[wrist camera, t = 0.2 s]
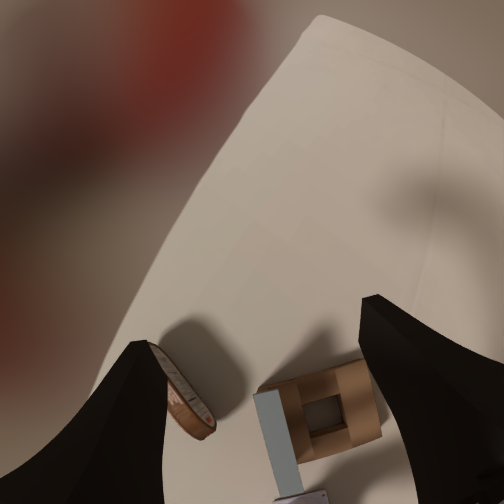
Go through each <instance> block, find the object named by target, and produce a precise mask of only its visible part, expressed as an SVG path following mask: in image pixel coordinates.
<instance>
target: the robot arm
mask: <svg viewBox="0 0 504 504" xmlns="http://www.w3.org/2000/svg"><path fill="white" fill-rule="evenodd" d="M358 342H359V345H360V348H361V350H362V353H363V356H364V358H365V361H366V363H367V366H368V368H369V370H370V371H371V373H372V375H373V377H374V379H375V381H376V383H377V385H378V387H379V388H380V390H381V392H382V394H383V396H384V398H385V400H386V402H387V404H388V406H389V407H390V409H391V411H392V413H393V415H394V418H395V420H396V422H397V425H398V427H399V430H400V433H401V436H402V439H403V442H404V445H405V448H406V451H407V454H408V458H409V461H410V465H411V469H412V473H413V477H414V481H415V486H416V491H417V497H418V503H419V504H504V364H503V363H500V362H497V361H494V360H492V359H489V358H487V357H484V356H482V355H480V354H478V353H475V352H473V351H471V350H469V349H467V348H465V347H463V346H461V345H459V344H457V343H455V342H453V341H452V340H450V339H448V338H446V337H445V336H443V335H441V334H439V333H438V332H436V331H434V330H433V329H431V328H430V327H428V326H426V325H425V324H423V323H422V322H420V321H419V320H417V319H416V318H414V317H413V316H411V315H409V314H408V313H407V312H405V311H404V310H402V309H401V308H399V307H398V306H396V305H395V304H393V303H392V302H390V301H389V300H387V299H385V298H384V297H382V296H381V295H379V294H376V295H373V296H369V297H365V298H362V307H361V319H360V329H359V339H358ZM167 407H168V378H167V376H166V374H165V372H164V371H163V369H162V367H161V365H160V364H159V362H158V360H157V358H156V356H155V355H154V353H153V351H152V349H151V347H150V345H149V344H148V342H147V340H140V341H131V342H130V343H129V344H128V346H127V347H126V348H125V349H124V351H123V352H122V354H121V355H120V356H119V358H118V359H117V361H116V362H115V363H114V365H113V366H112V368H111V369H110V370H109V372H108V373H107V375H106V376H105V377H104V379H103V380H102V382H101V383H100V384H99V386H98V387H97V389H96V390H95V391H94V392H93V394H92V395H91V396H90V398H89V399H88V400H87V401H86V403H85V404H84V405H83V407H82V408H81V409H80V410H79V412H78V413H77V414H76V415H75V416H74V418H73V419H72V420H71V421H70V422H69V423H68V424H67V426H66V427H64V429H63V430H62V431H61V432H60V433H59V434H58V435H57V436H56V437H55V438H54V439H53V440H51V441H50V442H49V443H48V444H47V445H46V446H45V447H44V448H43V449H42V450H41V451H39V452H38V453H37V454H36V455H34V456H33V457H32V458H31V459H29V460H28V461H27V462H25V463H24V464H23V465H21V466H20V467H18V468H17V469H15V470H14V471H12V472H10V473H9V474H7V475H5V476H3V477H2V478H0V504H165V503H164V493H163V479H162V455H163V445H164V435H165V426H166V417H167ZM323 494H325V495H324V496H322V495H323ZM273 504H329V501H328V497H327V493H326V490H319V491H316V492H312V493H308V494H304V495H300V496H295V497H291V498H286V499H281V500H276V501H273Z"/></svg>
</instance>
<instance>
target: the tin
mask: <svg viewBox="0 0 504 504" xmlns="http://www.w3.org/2000/svg"><path fill="white" fill-rule="evenodd" d="M148 344H149V345H150V347H151V349H152V351H153V353H154V355H155V356H156V358H157V360H158V362H159V364H160V365H161V367H162V369H163V371H164V372H165V374H166V376H167V378H168V407H167V411H168V412H169V413H170V414H171V416H172V417H173V418H174V420H175V421H176V422H177V423H178V425H179V426H180V427H181V428H182V429H183V430H184V431H185V432H186V433H188V434H189V435H190V436H192V437H193V438H195V439H197V440H204V439H205V438H206V437H207V436H209V435H210V434H212V433H213V432H215V431H216V427H217V423H216V420H215V418H214V416H213V415H212V413H211V411H210V410H209V409H208V407H207V406H206V405H205V403H204V402H203V401H202V399H201V398H200V397H199V396H198V394H197V393H196V392H195V390H194V389H193V388H192V386H191V385H190V384H189V383H188V381H187V380H186V379H185V377H184V376H183V375H182V373H181V372H180V371H179V369H178V368H177V367H176V365H175V364H174V363H173V361H172V360H171V359H170V358H169V357H168V355H167V354H166V353H165V352H164V351H163V350H162V349H161V348H160V347H159V346H157V345H156V344H153V343H151V342H148Z"/></svg>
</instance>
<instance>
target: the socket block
mask: <svg viewBox="0 0 504 504" xmlns="http://www.w3.org/2000/svg"><path fill="white" fill-rule="evenodd" d="M333 395H337V399H338V403H339V407H340V411H341V416H342V420H343V423H340V424H337V425H334V426H331V427H328V428H325V429H321V430H318V431H314V432H311V433H309V432H308V428H307V424H306V419H305V415H304V411H303V407H302V404H306V403H310V402H313V401H317V400H320V399H323V398H327V397H330V396H333ZM253 398H254V402H255V406H256V410H257V414H258V418H259V422H260V425H261V429H262V433H263V437H264V440H265V444H266V448H267V451H268V455H269V459H270V462H271V466H272V469H273V473H274V476H275V480H276V483H277V487H278V490H279V494H280V497H286V496H290V495H295V494H299V493H303V492H304V489H303V485H302V481H301V477H300V473H299V469H298V466H297V465H298V464H302V463H306V462H309V461H313V460H317V459H320V458H324V457H327V456H330V455H333V454H337V453H340V452H343V451H346V450H349V449H352V448H354V447H357V446H360V445H363V444H365V443H368V442H370V441H373V440H375V439H378V438H380V437H382V432H381V427H380V422H379V417H378V412H377V407H376V402H375V398H374V393H373V389H372V385H371V380H370V376H369V372H368V368H367V364H366V361H365V359H357V360H354V361H351V362H348V363H345V364H342V365H339V366H336V367H333V368H329V369H326V370H323V371H319V372H316V373H313V374H309V375H306V376H302V377H298V378H295V379H291V380H287V381H283V382H279V383H275V384H271V385H267V386H262V387H259V388H258V390H257V393H255V394H253Z"/></svg>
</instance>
